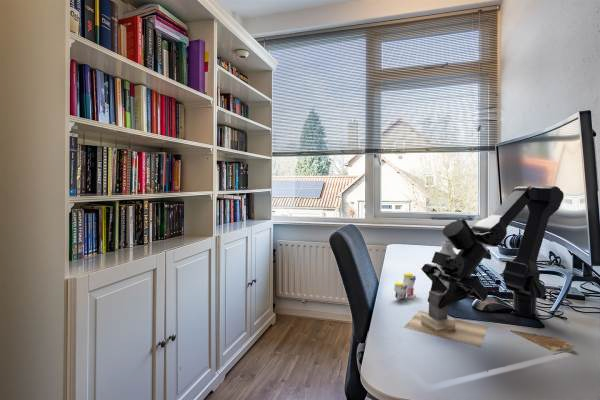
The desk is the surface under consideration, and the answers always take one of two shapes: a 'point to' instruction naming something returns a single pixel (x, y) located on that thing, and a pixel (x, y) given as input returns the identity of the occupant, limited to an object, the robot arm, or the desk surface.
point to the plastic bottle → (447, 249)
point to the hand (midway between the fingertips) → (433, 304)
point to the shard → (546, 342)
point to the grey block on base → (437, 314)
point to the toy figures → (405, 287)
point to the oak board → (452, 330)
